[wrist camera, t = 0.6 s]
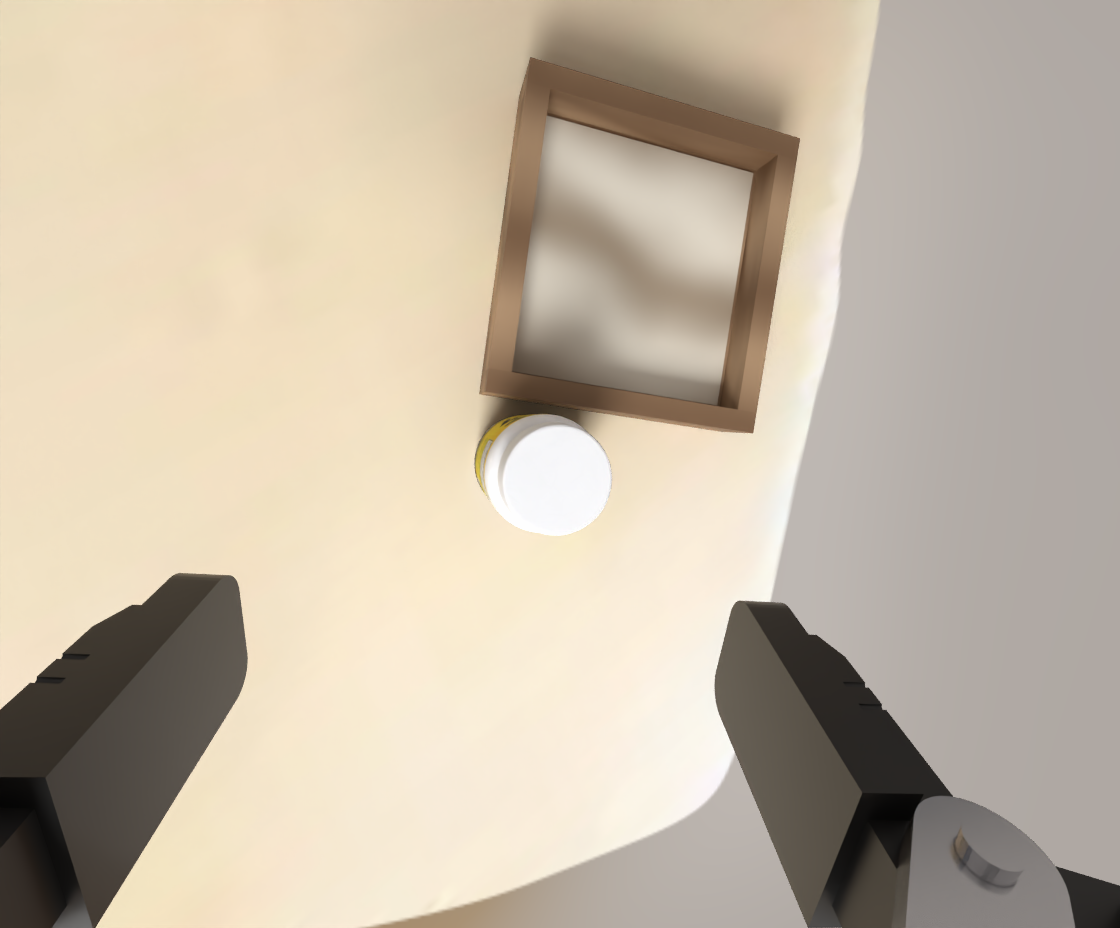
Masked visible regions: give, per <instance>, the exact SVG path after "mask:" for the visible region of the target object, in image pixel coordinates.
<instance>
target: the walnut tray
mask: <svg viewBox="0 0 1120 928" xmlns="http://www.w3.org/2000/svg"><path fill="white" fill-rule="evenodd" d="M799 142H800V138H797V137H793V136H790V135H787V134H784V133H780V132H777V131H774V130H770V129H767V128H764V127H760V126H757V125H754V124H750V123H747V122H744V121H740V120H737V119H734V118H730V117H727V116H724V115H720V114H717V113H714V112H710V111H707V110H704V109H701V108H697V107H694V106H691V105H687V104H684V103H681V102H677V101H674V100H671V99H667V98H664V97H661V96H657V95H654V94H651V93H647V92H644V91H641V90H637V89H634V88H631V87H628V86H624V85H621V84H618V83H614V82H611V81H608V80H604V79H601V78H598V77H594V76H591V75H588V74H584V73H581V72H578V71H574V70H571V69H568V68H564V67H561V66H558V65H555V64H551V63H548V62H545V61H541V60H538V59H535V58H530V61H529V64H528V68H527V71H526V75H525V78H524V82H523V85H522V89H521V92H520V96H519V102H518V110H517V117H516V125H515V132H514V140H513V147H512V154H511V162H510V169H509V177H508V184H507V192H506V199H505V206H504V214H503V221H502V229H501V236H500V244H499V251H498V259H497V266H496V273H495V281H494V288H493V296H492V303H491V311H490V318H489V326H488V333H487V340H486V348H485V355H484V363H483V370H482V378H481V385H480V393H479V394H482V395H488V396H495V397H501V398H508V399H514V400H521V401H527V402H534V403H540V404H547V405H553V406H560V407H566V408H572V409H579V410H585V411H592V412H598V413H605V414H611V415H618V416H624V417H631V418H637V419H644V420H650V421H656V422H663V423H669V424H676V425H682V426H689V427H695V428H702V429H708V430H715V431H721V432H739V433H753V431H754V424H755V418H756V412H757V405H758V399H759V393H760V387H761V380H762V374H763V368H764V361H765V355H766V349H767V343H768V336H769V330H770V324H771V317H772V311H773V305H774V299H775V292H776V286H777V280H778V273H779V267H780V261H781V255H782V248H783V242H784V236H785V230H786V223H787V217H788V211H789V204H790V198H791V192H792V186H793V179H794V173H795V167H796V160H797V154H798V148H799Z"/></svg>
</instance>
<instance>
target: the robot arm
mask: <svg viewBox="0 0 1120 928" xmlns="http://www.w3.org/2000/svg"><path fill="white" fill-rule="evenodd" d="M247 659H248V658H247V648H246V640H245V632H244V624H243V616H242V608H241V600H240V592H239V586H238V583H237V581H236V579H235V578H234V577H233V576H229V575H209V574H188V573H178V574H175V575H173V576H172V577H171V578H169V579H168V580H167V581H166V582H165V583H164V584H163V585H162V586H161V587H160V588H159V589H158V590H157V591H156V592H155V593H154V594H153V595H152V596H151V597H150V598H149V599H148V600H147V601H146V602H144V603H143V604H142V605H131V606H129V607H127V608H126V609H124V610H122V611H120V612H118V613H116V614H115V615H113V616H111V617H109V618H107V619H105V620H104V621H102V622H100V623H98V624H96V625H94V626H93V627H91V628H90V629H89V630H88V631H87V632H86V633H85V634H84V635H83V636H82V637H80V638H79V639H78V640H77V641H76V642H75V643H74V644H73V645H72V646H70V647H69V648H68V649H67V650H66V651H65V652H64V653H63V656H62V658H61V659H56V660H55V661H54V662H53V663H52V664H50V665H49V666H48V667H47V668H46V669H45V670H44V671H43V672H42V673H40V674H39V675H38V676H37V680H36V682H35V683H29V684H28V685H27V686H26V687H25V688H24V689H23V690H22V691H21V692H19V693H18V694H17V695H16V696H15V697H14V698H13V699H12V700H11V701H9V702H8V703H7V704H6V705H5V706H4V707H3V708H2V709H1V710H0V928H95V927H96V926H97V924H98V923H99V921H100V919H101V918H102V916H103V914H104V913H105V911H106V910H107V908H108V906H109V905H110V903H111V902H112V900H113V898H114V897H115V895H116V893H117V892H118V890H119V889H120V887H121V885H122V884H123V882H124V881H125V879H126V877H127V876H128V874H129V872H130V871H131V869H132V868H133V866H134V864H135V863H136V861H137V860H138V858H139V856H140V855H141V853H142V852H143V850H144V848H145V847H146V845H147V843H148V842H149V840H150V839H151V837H152V835H153V834H154V832H155V831H156V829H157V827H158V826H159V824H160V822H161V821H162V819H163V818H164V816H165V814H166V813H167V811H168V810H169V808H170V806H171V805H172V803H173V802H174V800H175V798H176V797H177V795H178V793H179V792H180V790H181V789H182V787H183V785H184V784H185V782H186V781H187V779H188V777H189V776H190V774H191V772H192V771H193V769H194V768H195V766H196V764H197V763H198V761H199V760H200V758H201V756H202V755H203V753H204V751H205V750H206V748H207V747H208V745H209V743H210V742H211V740H212V739H213V737H214V735H215V734H216V732H217V731H218V729H219V727H220V726H221V724H222V722H223V721H224V719H225V718H226V716H227V714H228V713H229V711H230V710H231V708H232V706H233V705H234V703H235V701H236V700H237V698H238V696H239V694H240V692H241V689H242V687H243V684H244V680H245V676H246V671H247ZM715 698H716V704H717V708H718V712H719V715H720V717H721V719H722V722H723V724H724V727H725V729H726V731H727V734H728V736H729V739H730V741H731V744H732V746H733V748H734V751H735V753H736V755H737V758H738V760H739V763H740V765H741V768H742V770H743V772H744V775H745V777H746V780H747V782H748V784H749V787H750V789H751V792H752V794H753V796H754V799H755V801H756V804H757V806H758V808H759V811H760V813H761V816H762V818H763V820H764V823H765V825H766V828H767V830H768V832H769V835H770V837H771V840H772V842H773V844H774V847H775V849H776V852H777V854H778V856H779V859H780V861H781V864H782V866H783V868H784V871H785V873H786V876H787V878H788V880H789V883H790V885H791V888H792V890H793V892H794V895H795V897H796V900H797V902H798V905H799V907H800V910H801V912H802V914H803V917H804V919H805V922H806V924H807V926H808V928H835V927H836V928H837V927H838V928H841V927H842V928H1120V886H1119V885H1115V884H1112V883H1109V882H1105V881H1102V880H1099V879H1096V878H1092V877H1089V876H1085V875H1082V874H1079V873H1076V872H1073V871H1069V870H1066V869H1063V868H1059V867H1056V866H1055V865H1054V864H1053V863H1052V861H1051V860H1050V859H1049V858H1048V856H1047V855H1046V854H1045V853H1044V852H1043V851H1042V850H1041V848H1040V847H1039V846H1038V845H1037V844H1036V843H1035V842H1034V841H1033V840H1031V839H1030V838H1029V837H1028V836H1027V835H1026V834H1025V833H1023V832H1022V831H1021V830H1020V829H1018V828H1017V827H1016V826H1014V825H1013V824H1012V823H1010V822H1009V821H1007V820H1006V819H1004V818H1003V817H1001V816H1000V815H998V814H996V813H994V812H992V811H990V810H988V809H987V808H985V807H983V806H980V805H978V804H976V803H973V802H970V801H967V800H964V799H961V798H956V797H953V796H952V795H951V793H950V792H949V791H948V789H947V788H946V787H945V786H944V784H943V783H942V782H941V780H940V779H939V778H938V776H937V775H936V774H935V773H934V771H933V770H932V769H931V767H930V766H929V765H928V763H926V761H925V760H924V758H923V757H922V756H921V754H919V752H918V751H917V749H916V748H915V747H914V745H913V744H912V743H911V742H910V740H909V739H908V738H907V736H906V735H905V734H904V732H903V731H902V730H901V729H900V727H899V726H898V725H897V723H896V722H895V721H894V720H893V719H892V717H891V716H890V714H889V713H888V712H887V710H882V707H881V706H882V704H881V703H880V701H879V700H878V699H877V698H876V696H875V695H874V694H873V692H872V691H871V690H870V689H869V688H865V682H864V681H863V679H862V678H861V677H860V676H859V674H858V673H857V672H856V670H855V669H854V668H853V667H852V665H851V664H850V663H849V662H848V660H847V659H846V657H844V656H843V655H842V654H841V653H839V652H838V651H837V650H835V649H834V648H833V647H831V646H830V645H829V644H828V643H826V642H825V641H824V640H822V639H821V638H820V637H818V636H817V635H808V633H807V632H806V631H805V629H804V628H803V626H802V625H801V624H800V622H799V621H798V619H797V618H796V617H795V616H794V614H793V613H792V611H791V610H790V608H789V607H788V606H787V605H785V604H783V603H775V602H754V601H738V602H736V603H735V604H734V606H733V608H732V610H731V613H730V617H729V621H728V625H727V630H726V634H725V638H724V642H723V646H722V650H721V654H720V658H719V662H718V666H717V670H716V675H715Z"/></svg>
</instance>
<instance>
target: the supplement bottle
mask: <svg viewBox="0 0 1120 928" xmlns="http://www.w3.org/2000/svg"><path fill="white" fill-rule="evenodd" d="M474 465H475V473H476V477H477V480H478V483H479V485H480V487H481V489H482V490H483V492H484V493H485V495H486V496H487V497H488V499H489V500H490V502H491V503H492V505H493V506H494V508H495V509H496V510H497V511H498V513H499V514H500V515H501V516H502V517H503V518H505V519H506V520H507V521H508V522H510V523H511V524H513V525H514V526H516V527H518V528H521V529H523V530H527V531H531V532H537V533H542V534H546V535H566V534H570V533H573V532H576V531H578V530H580V529H582V528H584V527H585V526H587V525H588V524H590V523H591V522H592V521H593V520H594V519H595V518H596V517H597V516H598V515H599V514H600V513H601V511H602V510H603V508H604V506H605V504H606V502H607V500H608V497H609V494H610V490H611V484H612V473H611V466H610V463H609V459H608V457H607V455H606V453H605V451H604V449H603V448H602V446H601V445H600V443H599V442H598V441H597V440H596V439H595V438H594V437H593V436H591V435H590V434H589V433H588V432H587V431H586V430H585V429H584V428H582V427H581V426H580V425H578V424H577V423H575V422H574V421H572V420H569V419H567V418H564V417H562V416H557V415H552V414H530V415H517V416H512V417H508V418H505V419H503V420H501V421H499V422H497V423H496V424H494V425H493V426H492V427H491V428H489V429H488V431H487V432H486V433H485V434H484V435H483V437H482V438H481V440H480V442H479V444H478V447H477V450H476V454H475V463H474Z"/></svg>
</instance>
